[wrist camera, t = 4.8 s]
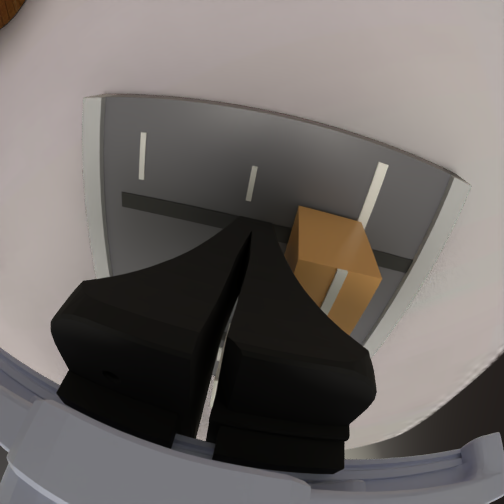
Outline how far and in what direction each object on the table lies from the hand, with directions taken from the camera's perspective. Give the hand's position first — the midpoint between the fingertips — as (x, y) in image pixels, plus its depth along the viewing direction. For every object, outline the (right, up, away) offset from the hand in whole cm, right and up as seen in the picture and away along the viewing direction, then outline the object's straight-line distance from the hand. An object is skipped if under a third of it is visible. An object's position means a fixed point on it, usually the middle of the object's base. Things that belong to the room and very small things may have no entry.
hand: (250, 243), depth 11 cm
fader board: (0, -2, +4) cm, 4 cm away
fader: (+3, 0, +1) cm, 3 cm away
